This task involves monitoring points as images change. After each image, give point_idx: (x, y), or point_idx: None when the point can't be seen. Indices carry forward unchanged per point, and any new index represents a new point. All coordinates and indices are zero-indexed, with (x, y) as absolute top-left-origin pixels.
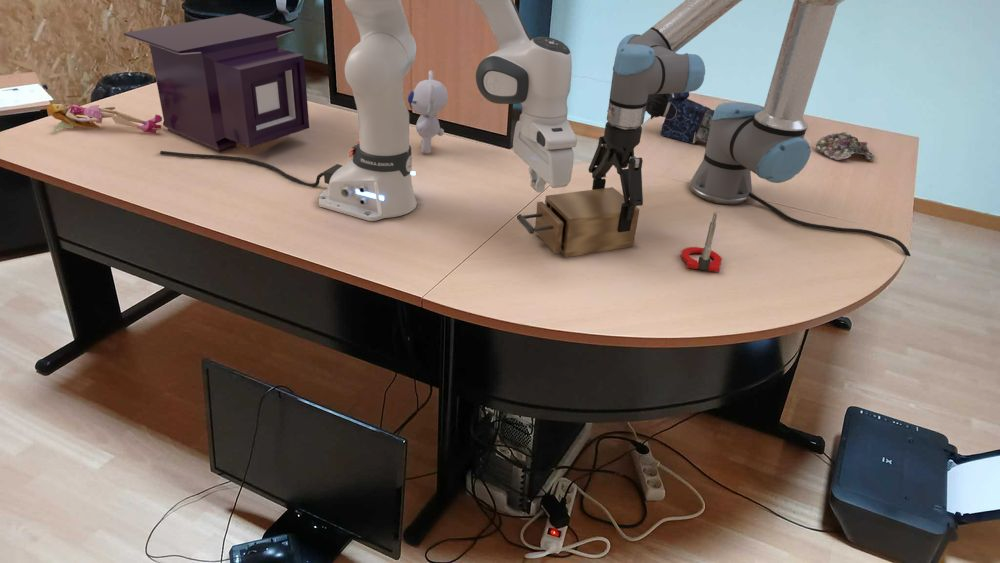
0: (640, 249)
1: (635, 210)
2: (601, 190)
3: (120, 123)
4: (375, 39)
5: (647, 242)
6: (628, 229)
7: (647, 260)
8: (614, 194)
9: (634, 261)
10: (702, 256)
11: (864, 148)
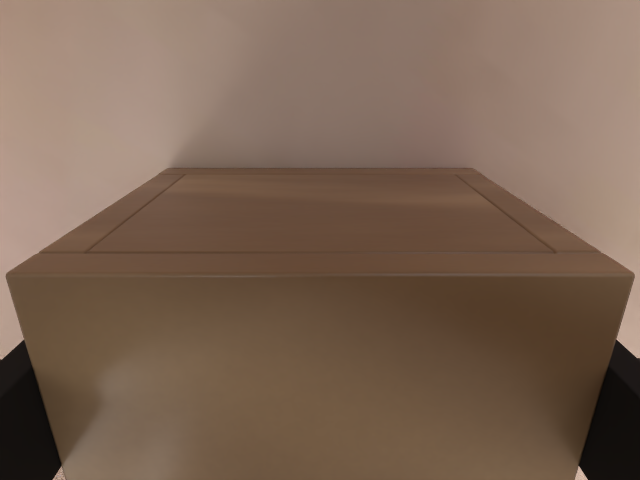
0: (516, 143)
1: (618, 320)
2: (91, 420)
3: None
4: None
5: (465, 47)
6: None
7: (632, 172)
8: (208, 348)
9: (602, 244)
10: None
11: None
